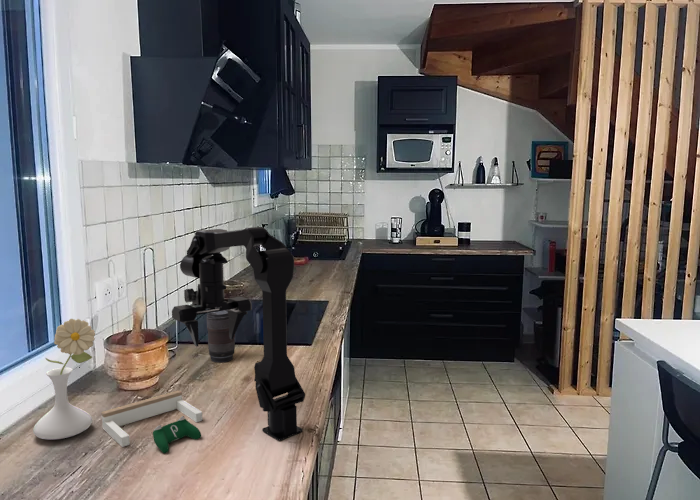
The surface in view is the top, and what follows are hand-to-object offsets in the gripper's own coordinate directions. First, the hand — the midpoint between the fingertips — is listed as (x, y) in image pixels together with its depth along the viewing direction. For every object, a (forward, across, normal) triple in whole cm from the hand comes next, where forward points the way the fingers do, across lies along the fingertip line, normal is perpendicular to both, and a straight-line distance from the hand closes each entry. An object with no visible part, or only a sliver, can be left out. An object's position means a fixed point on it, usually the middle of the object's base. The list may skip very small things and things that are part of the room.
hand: (214, 342), depth 134 cm
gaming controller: (+15, +17, +16) cm, 28 cm away
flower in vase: (+14, +33, -3) cm, 36 cm away
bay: (+14, +18, +6) cm, 23 cm away
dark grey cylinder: (+14, -14, -27) cm, 33 cm away
